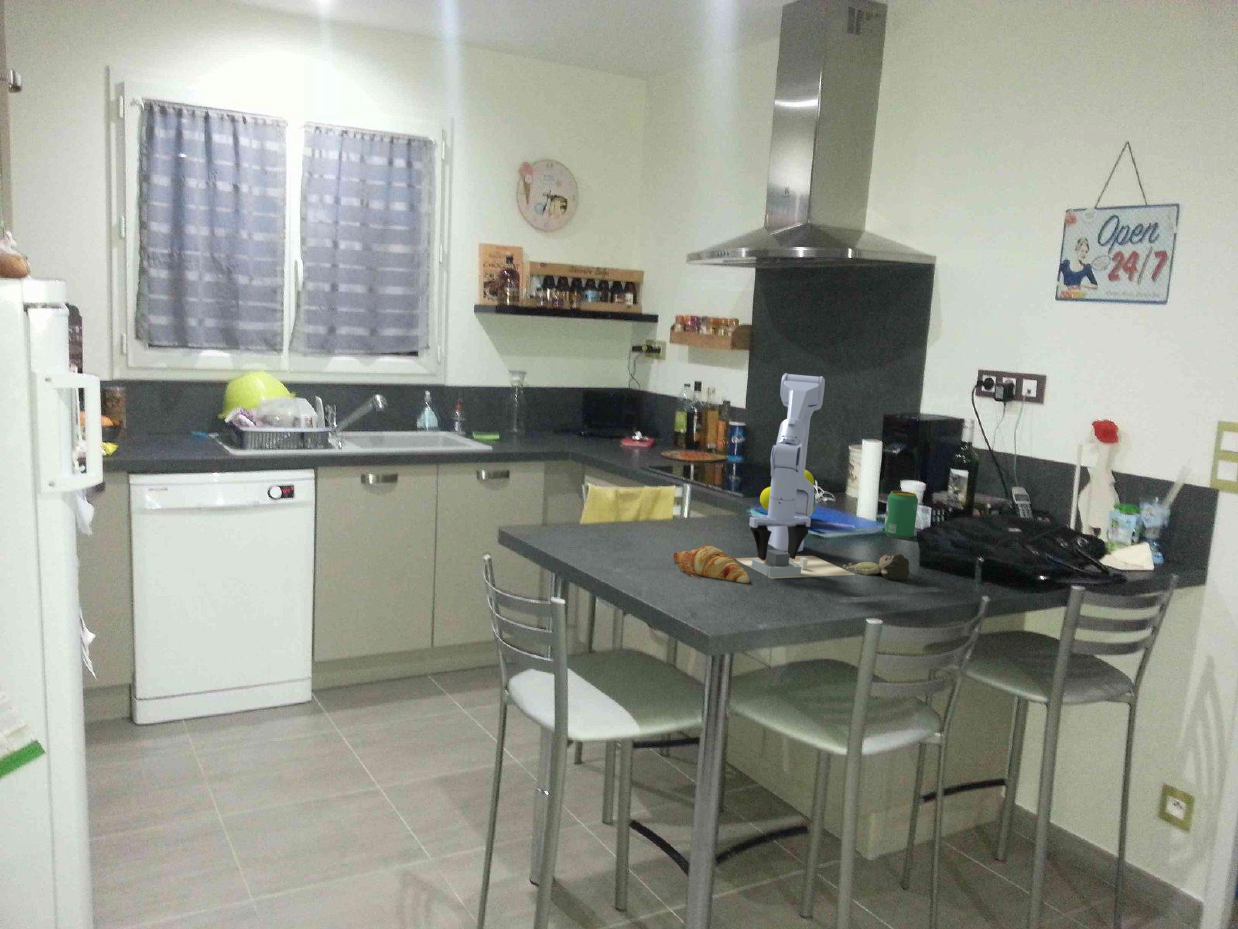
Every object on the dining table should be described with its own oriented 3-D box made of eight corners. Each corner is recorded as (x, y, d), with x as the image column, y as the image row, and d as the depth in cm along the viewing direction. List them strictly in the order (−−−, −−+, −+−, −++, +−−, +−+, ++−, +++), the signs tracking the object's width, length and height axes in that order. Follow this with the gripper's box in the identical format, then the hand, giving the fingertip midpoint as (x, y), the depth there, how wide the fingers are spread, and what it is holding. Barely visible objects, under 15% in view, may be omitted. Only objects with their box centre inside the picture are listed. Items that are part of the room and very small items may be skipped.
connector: (755, 565, 229) (757, 545, 228) (769, 564, 230) (771, 545, 230) (774, 574, 222) (776, 554, 221) (788, 574, 223) (790, 554, 222)
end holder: (751, 568, 226) (752, 559, 226) (782, 566, 229) (783, 558, 229) (769, 577, 219) (770, 568, 219) (800, 575, 222) (801, 566, 222)
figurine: (853, 552, 237) (914, 552, 227) (855, 579, 237) (916, 580, 228) (837, 556, 231) (898, 557, 221) (839, 584, 231) (900, 586, 222)
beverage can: (886, 531, 283) (891, 489, 282) (915, 535, 280) (920, 493, 278) (881, 536, 276) (886, 493, 274) (911, 540, 273) (916, 497, 271)
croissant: (754, 602, 216) (768, 567, 217) (731, 586, 209) (746, 551, 210) (679, 576, 230) (692, 544, 232) (655, 561, 223) (669, 528, 224)
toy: (841, 505, 277) (830, 468, 288) (787, 490, 273) (778, 453, 284) (813, 543, 287) (804, 505, 298) (760, 529, 283) (753, 492, 294)
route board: (732, 562, 234) (733, 558, 234) (812, 559, 242) (813, 555, 242) (771, 582, 218) (771, 578, 218) (855, 579, 227) (855, 574, 227)
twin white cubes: (785, 562, 234) (786, 551, 234) (790, 561, 234) (791, 551, 234) (802, 569, 228) (803, 559, 227) (806, 569, 228) (807, 559, 228)
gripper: (763, 502, 215) (757, 564, 217) (820, 501, 221) (814, 561, 223) (747, 495, 222) (741, 555, 224) (803, 495, 227) (796, 554, 230)
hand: (776, 558), depth 224 cm, fingers open, 7 cm apart
